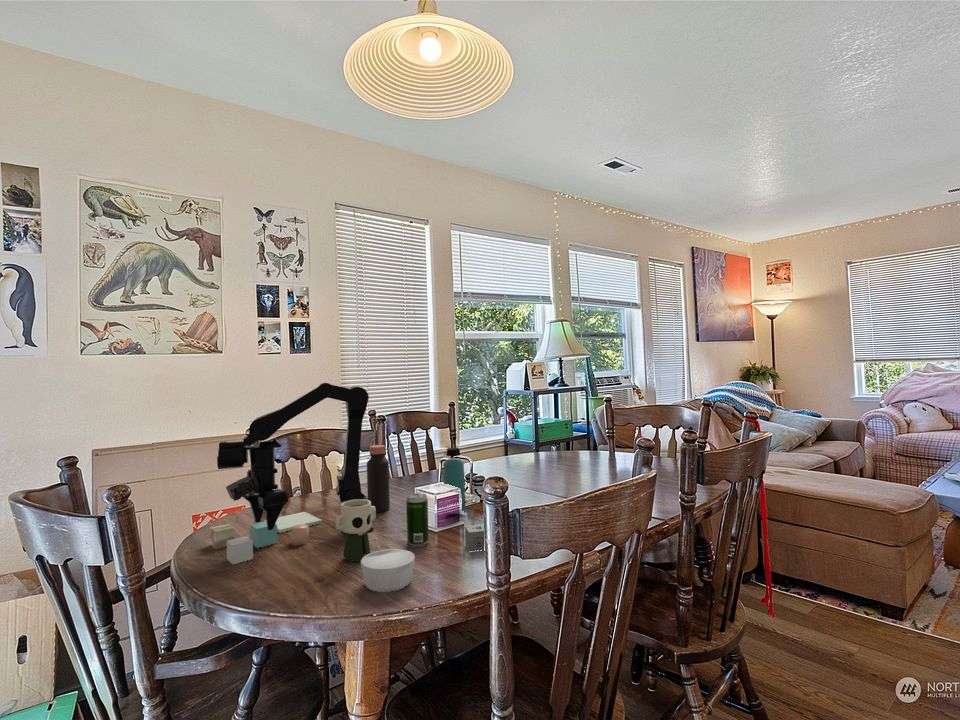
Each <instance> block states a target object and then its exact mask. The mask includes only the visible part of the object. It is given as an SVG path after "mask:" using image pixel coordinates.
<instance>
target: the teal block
mask: <svg viewBox="0 0 960 720" xmlns="http://www.w3.org/2000/svg"><path fill="white" fill-rule="evenodd" d="M249 528H250V530H249V531H250V539H251V540H253V545H254V546H253V547H255V548H256V547H257V548H256V549H260V548H259V547H261V548H263V547H262V546H265V547H267V546H266V545H269V546H272V545H271V544H273V545H276V544H275V543H277V544H278V532H277V524H275V526H274V528H273V529H272V530H268V527H267V522H266V521H264V520H263V521H260V522H257V523H256V522H255V523H250V527H249Z"/></svg>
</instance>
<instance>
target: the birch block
mask: <svg viewBox="0 0 960 720" xmlns="http://www.w3.org/2000/svg"><path fill="white" fill-rule="evenodd" d="M209 532H210V533H209V534H210V546H211V545H212V546H213V547H212V546H211V547H212V548H213V549H214V550H218V549H223V548H227V547H226V546H227V541H228V540H232V539H235V527H234V526H233V525H231V524H230V523H227V524H223V525H222V524H221V525H218V526H213V527H210V531H209ZM222 547H223V548H222Z"/></svg>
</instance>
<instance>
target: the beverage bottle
mask: <svg viewBox="0 0 960 720" xmlns="http://www.w3.org/2000/svg"><path fill="white" fill-rule="evenodd" d="M445 453H446V456H447V457H459V456H461V450H460V448H459V447H449V448H447V449H446V452H445ZM442 464H443V485H444V484H449V485H452V486H455V487H458V488H460V489H461V494H462V512H465V510H466V504H467V503H466V490H465V487H466V486H465V478H466V475H465V462H464V461H463V460H462V459H461V458H447V459H446V460H445V461H444V462H443V463H442Z"/></svg>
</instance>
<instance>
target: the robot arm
mask: <svg viewBox="0 0 960 720" xmlns="http://www.w3.org/2000/svg"><path fill="white" fill-rule="evenodd" d="M325 399H332V400H337V401H341V402H344V403H345V408H346V416H347V417H346V418H347V424H346V439H345V452H344V465H343V471H342V474H341V475H336V481H337V482H336V487H335V489H334V490H335V492H336V495H337V496H338V498H339V501H340V502H341V503H343V502H346V501H349V500H357V499H364V500H368V497H367V496H366V495H365V494H364V493H362V487H361V486H362V485H361V479H360V471H359V469H360V457H361V456H360V455H361V454H360V453H361V441H362V439H361V438H362V429H363V428H362V427H363V419H364V416H365V414H366V410H367V407H368V403H369V399H370V398H369V392H368V391H367V389H365V388H364V387H361V386H357V385H356V386H351V387H344V386H339V385H334V384H330V383H328V382H322V383H319V385H318V386H317V387H316V388H314V389H312V390H310V391H308V392H306V393H305V394H303V395H302V396H300V397H299V398H297V399H295V400H293V401H291V402H290V403H288V404H287V405H285V406H283V407H282V408H279V409H276V410H274V411H271V412H269V413H266V414H262V415H261V416H260V415H259V416H258V417H256V418H255V419H254V420H253V421H252V422H251V423H250V425H249V428H248V431H249V433H248V434H247V435H246V436H244V437H243V439H242V440H241V441H240V440H239V441H220V442H219V443H218V451H217V457H216V462H217V463H216V464H217V468H218V469H217V470H225V469H226V470H227V469H237V468H244V465H245V464H248V462H249V454H250V469H248V470H247V472H246V476H245V477H243V478H241V479H238V480H236V481H235V482H234V481H233V483H230V484H228V485H227V486H225V489H226V491H227V493H228V495H229V498H230V500H233V501H235V502H236V501H239V500H241V499H242V498H243V499H244V500H246V501H247V502H248V503H249V506H250V509H251V512H252V515H253V518H254V522H255V523H260V522H262V518H263V517H262V516H263V514H264V516H265V520H266V522H267V527H268V530H272V529H273V528H274V526H275V523H276V521H277V519H278V517H280V516H281V512H282V510H283V509H284V507H285V505H287V503H288V502H289V493H288V492H286V491H285V490H283V489H280V488H279V487H278V485H279V484H277V483H276V474H277V473H278V468H276V467H275V463H276V462H275V449H277V448H282V442H281V441H279V440H278V439H277V438H276V437H274V438H273V439H272V440H268V439H269V438H271V437H272V436H273V435H274V434H276V432H277V431H279V430H280V429H281V428H282V427H284V425H285V424H286V423H288V422H289V421H291V420H292V419H294V418H295V417H297V416H298V415H300V414H302V413H304V412H305V411H307V410H308V409H310V408H312V407H313V406H315V405H317V404H319V403H320V402H322V401H323V400H325ZM267 440H268V441H267ZM258 441H260V442H259V444H258V445H256V444H255V443H257V442H258ZM253 444H255V445H253ZM249 450H250V451H249ZM249 452H250V453H249ZM341 503H340V504H341ZM374 529H375V528H374V527H372V526H371V528H370V529H369V530H368V531H367V533H369V532H373V531H374Z"/></svg>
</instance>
